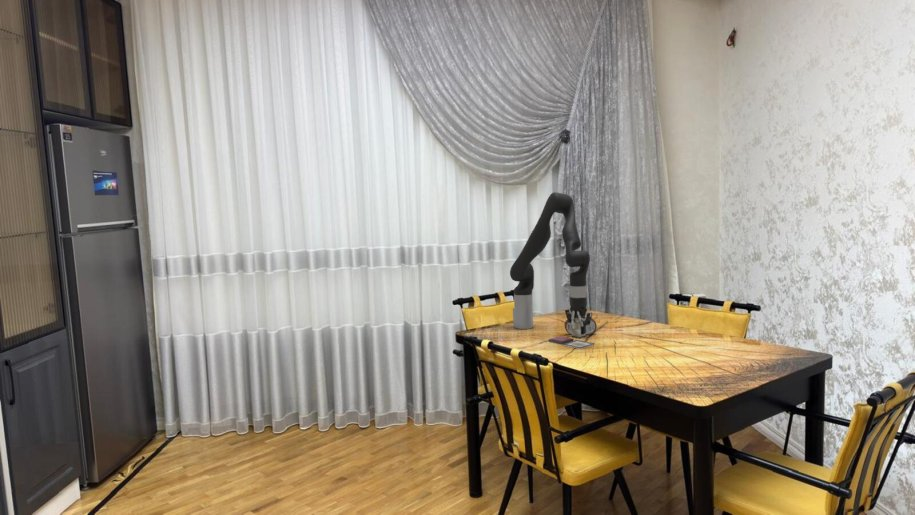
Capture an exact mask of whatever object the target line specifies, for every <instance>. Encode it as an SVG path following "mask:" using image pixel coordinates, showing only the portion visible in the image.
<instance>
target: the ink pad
mask: <svg viewBox="0 0 915 515" xmlns="http://www.w3.org/2000/svg"><path fill="white" fill-rule="evenodd" d="M574 339H575V338H572V337H567V336H562V335H558V336H555V337H552V338H550V339H548V342H549V343H553V344H558V345H563V344H565V343H568V342H572V341H575V340H574Z"/></svg>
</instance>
